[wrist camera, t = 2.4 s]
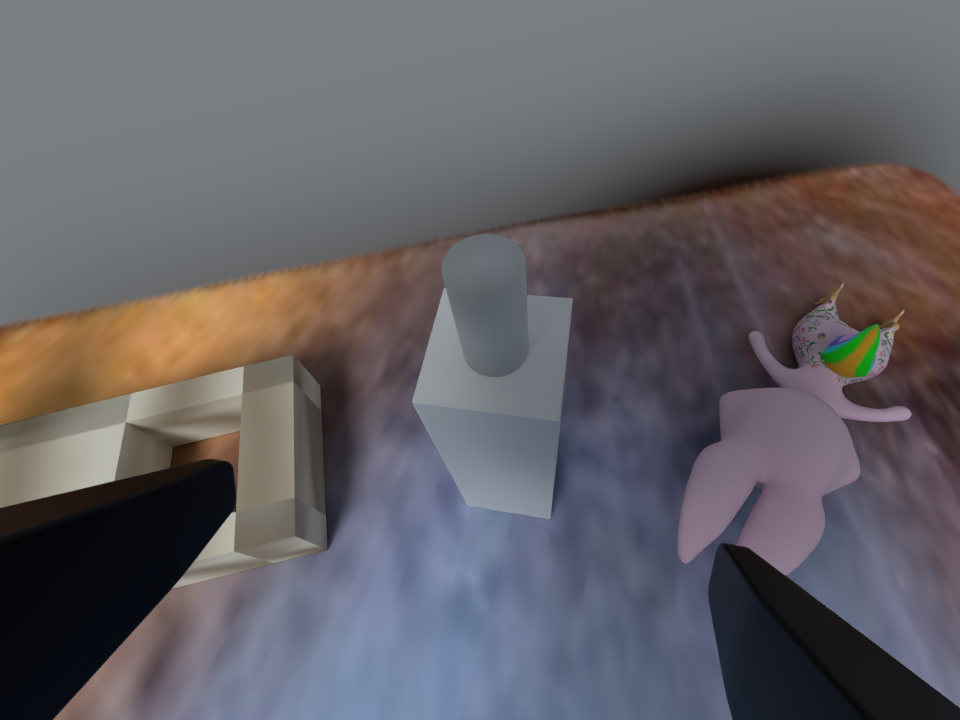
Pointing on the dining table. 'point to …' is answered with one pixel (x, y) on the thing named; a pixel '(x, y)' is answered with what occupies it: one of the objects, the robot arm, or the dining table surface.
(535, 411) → the grey plug
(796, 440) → the pink horned figurine
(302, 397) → the slot rack
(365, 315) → the dining table surface
